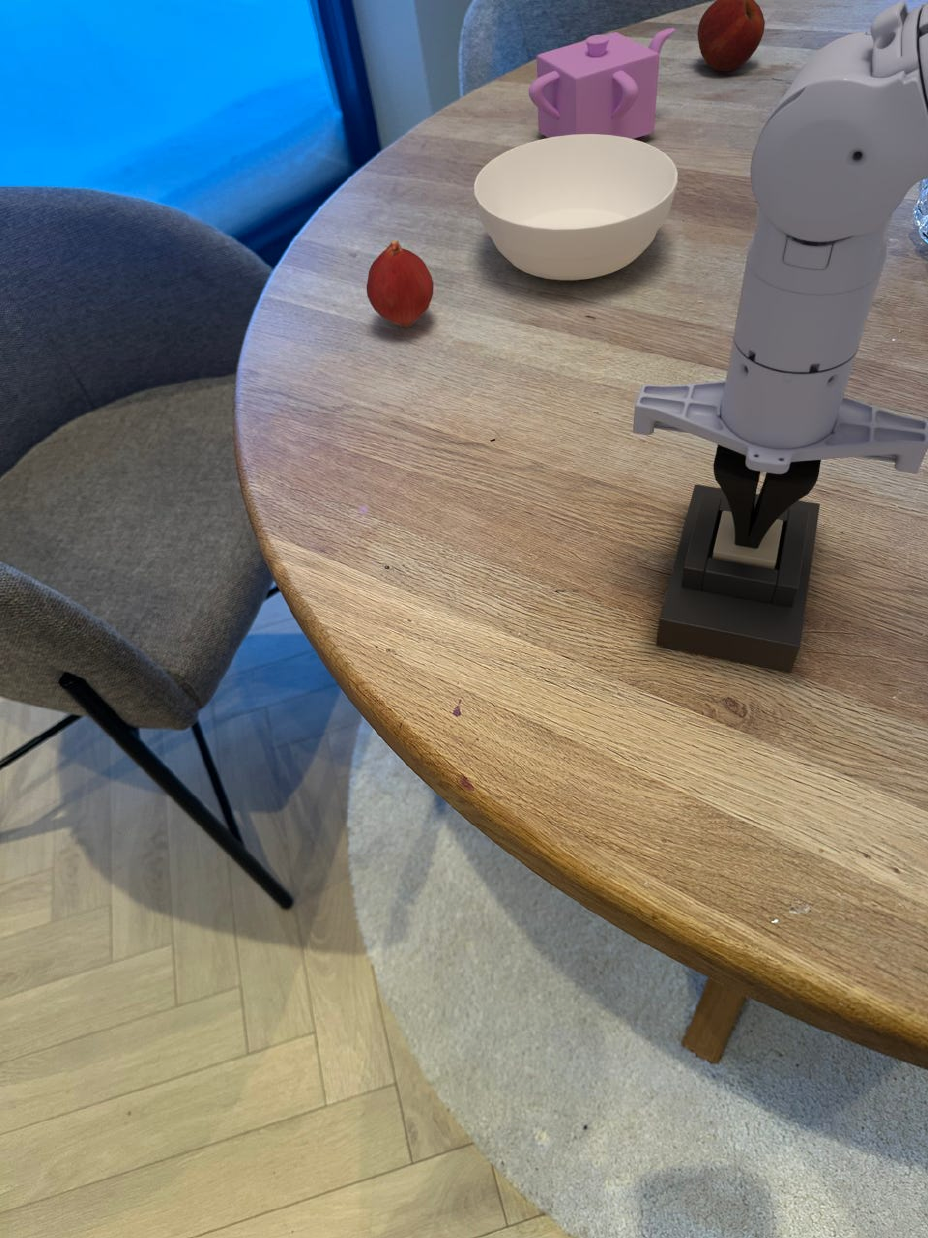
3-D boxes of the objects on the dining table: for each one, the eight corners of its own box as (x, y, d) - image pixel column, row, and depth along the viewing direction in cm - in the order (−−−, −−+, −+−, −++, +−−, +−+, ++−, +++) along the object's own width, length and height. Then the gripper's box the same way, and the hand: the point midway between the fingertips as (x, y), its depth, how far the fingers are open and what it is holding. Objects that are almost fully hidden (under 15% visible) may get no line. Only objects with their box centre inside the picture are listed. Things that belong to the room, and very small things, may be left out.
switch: (718, 531, 54) (722, 509, 53) (777, 541, 53) (783, 519, 52) (709, 572, 52) (713, 551, 51) (770, 584, 51) (776, 562, 50)
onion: (363, 336, 77) (344, 251, 71) (395, 302, 80) (380, 218, 74) (418, 349, 75) (404, 263, 69) (449, 314, 78) (438, 228, 72)
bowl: (711, 246, 80) (721, 167, 75) (576, 331, 74) (576, 252, 68) (572, 191, 90) (572, 117, 84) (441, 262, 84) (432, 187, 78)
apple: (730, 85, 103) (741, 7, 96) (679, 72, 107) (686, -4, 100) (768, 65, 105) (780, -13, 99) (717, 52, 109) (726, -23, 103)
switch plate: (690, 512, 59) (698, 463, 56) (810, 532, 57) (826, 482, 54) (655, 645, 53) (662, 599, 49) (790, 674, 50) (807, 627, 47)
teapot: (637, 98, 103) (643, -1, 95) (705, 138, 95) (718, 33, 87) (505, 140, 99) (500, 40, 91) (564, 184, 91) (564, 79, 83)
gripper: (626, 369, 40) (614, 561, 51) (962, 410, 36) (873, 609, 47) (656, 288, 44) (639, 482, 55) (962, 318, 40) (880, 520, 51)
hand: (748, 535), depth 51 cm, fingers closed, pressing on switch
